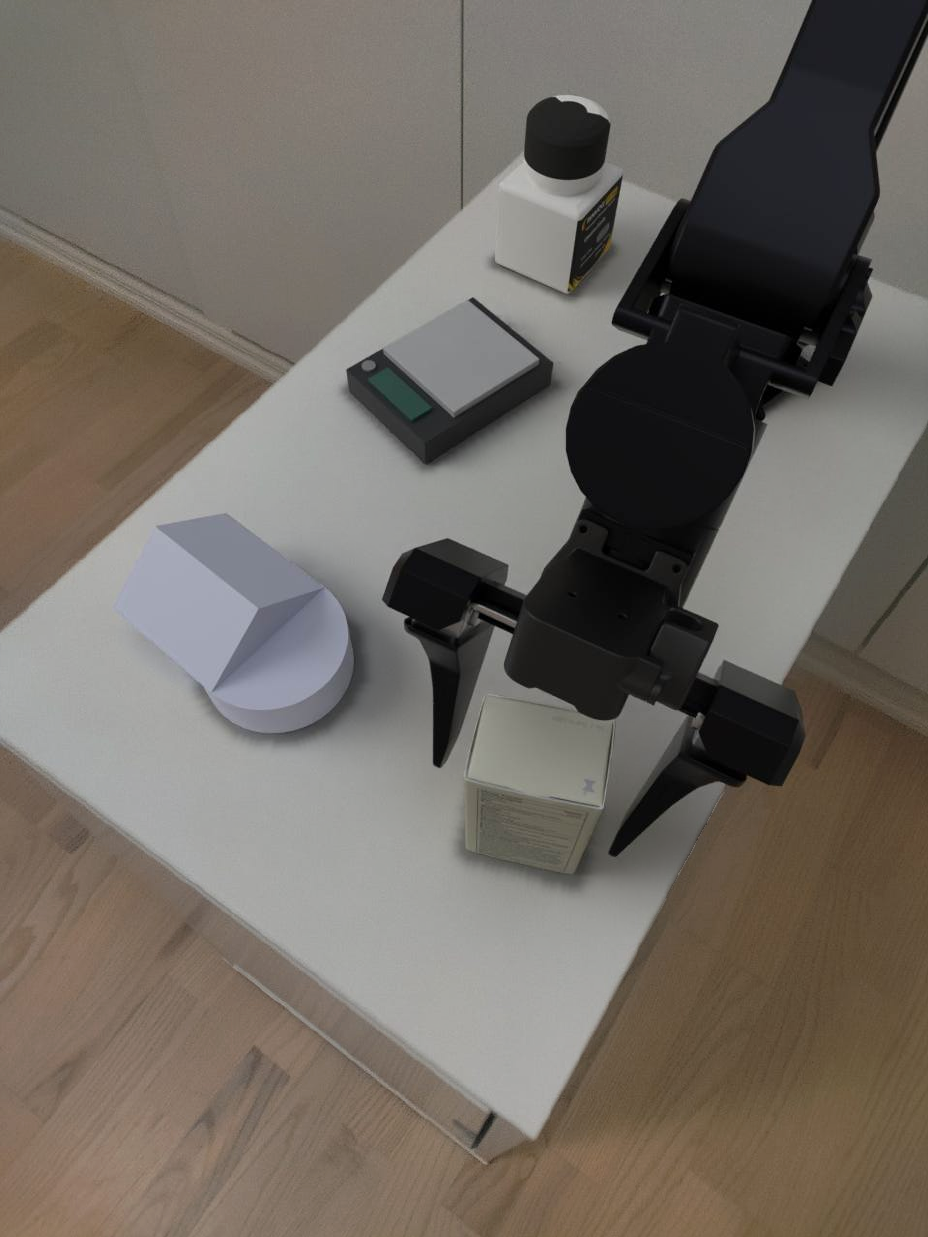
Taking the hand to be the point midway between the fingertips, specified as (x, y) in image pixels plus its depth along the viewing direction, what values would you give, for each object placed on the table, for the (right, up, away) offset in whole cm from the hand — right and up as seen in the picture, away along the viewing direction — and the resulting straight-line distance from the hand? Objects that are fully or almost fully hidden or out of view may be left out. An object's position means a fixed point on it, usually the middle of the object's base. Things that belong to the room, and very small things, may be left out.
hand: (523, 807), depth 42 cm
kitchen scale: (-4, +26, +23) cm, 35 cm away
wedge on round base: (-16, +7, +12) cm, 21 cm away
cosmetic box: (0, -3, +7) cm, 7 cm away
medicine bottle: (+4, +39, +31) cm, 50 cm away
